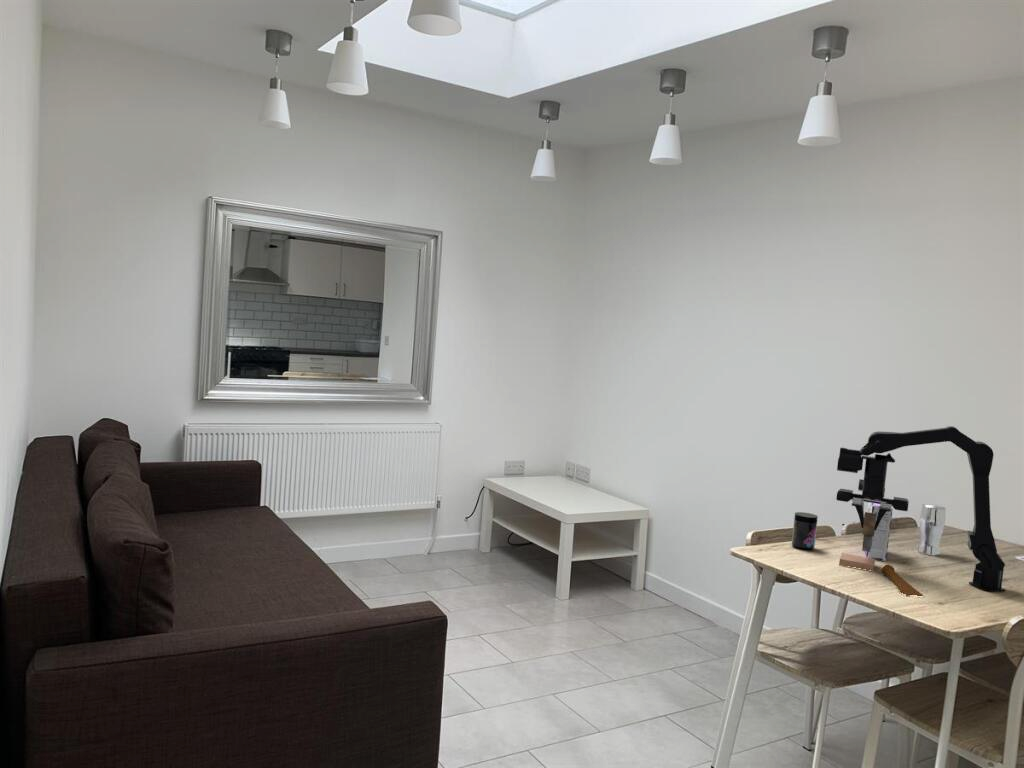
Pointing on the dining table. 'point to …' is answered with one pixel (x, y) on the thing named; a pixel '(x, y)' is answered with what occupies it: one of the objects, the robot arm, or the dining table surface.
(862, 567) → the tan block
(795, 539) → the supplement container
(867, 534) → the two-tone stacked blocks
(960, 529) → the dining table surface
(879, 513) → the robot arm
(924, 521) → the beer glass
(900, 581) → the primitive tool
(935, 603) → the dining table surface
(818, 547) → the dining table surface
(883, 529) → the candy box
